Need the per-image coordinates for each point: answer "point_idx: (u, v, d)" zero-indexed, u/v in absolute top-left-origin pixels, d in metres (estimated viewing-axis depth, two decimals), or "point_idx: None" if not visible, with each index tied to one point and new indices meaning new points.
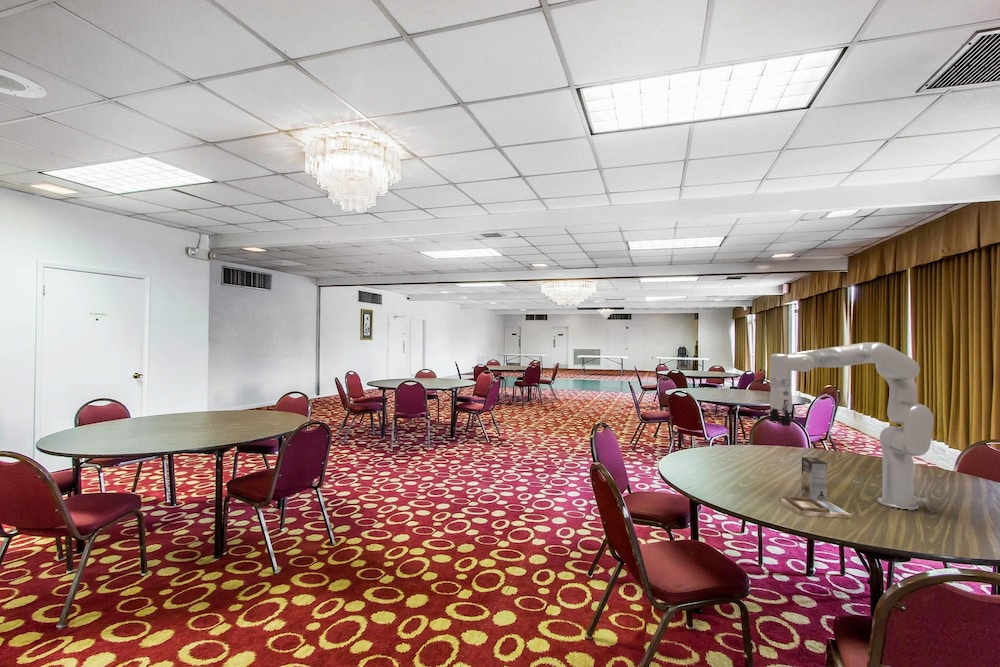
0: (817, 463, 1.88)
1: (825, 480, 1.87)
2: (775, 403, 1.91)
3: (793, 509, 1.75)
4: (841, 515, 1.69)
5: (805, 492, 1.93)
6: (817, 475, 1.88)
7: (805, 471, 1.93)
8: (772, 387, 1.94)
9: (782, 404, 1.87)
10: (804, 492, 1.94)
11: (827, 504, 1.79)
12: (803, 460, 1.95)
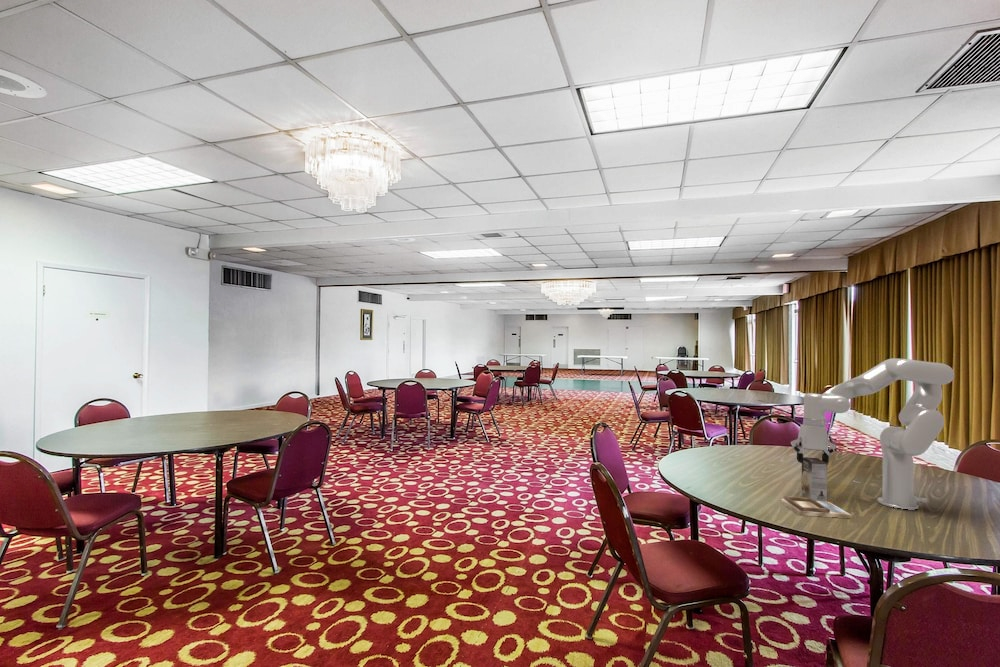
0: (817, 463, 1.88)
1: (825, 480, 1.87)
2: (819, 444, 1.90)
3: (793, 509, 1.75)
4: (841, 515, 1.69)
5: (805, 492, 1.93)
6: (817, 475, 1.88)
7: (805, 471, 1.93)
8: (813, 428, 1.90)
9: None
10: (804, 492, 1.94)
11: (827, 504, 1.79)
12: (803, 460, 1.95)
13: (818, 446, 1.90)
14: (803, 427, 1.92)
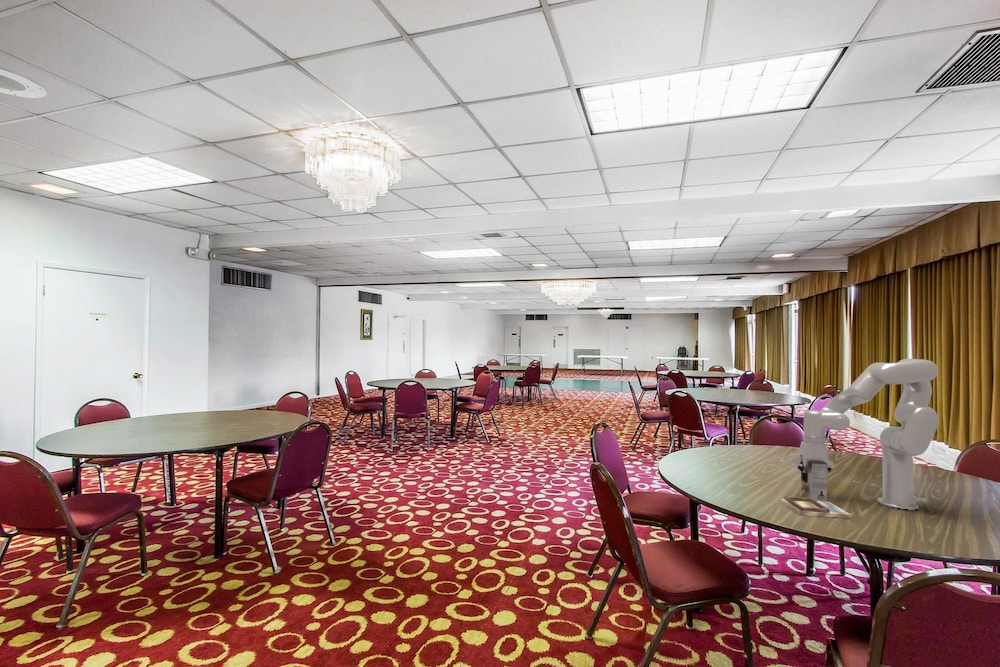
0: (817, 463, 1.88)
1: (825, 480, 1.87)
2: (820, 461, 1.90)
3: (793, 509, 1.75)
4: (841, 515, 1.69)
5: (805, 492, 1.93)
6: (817, 475, 1.88)
7: None
8: (813, 446, 1.90)
9: None
10: (804, 492, 1.94)
11: (827, 504, 1.79)
12: None
13: None
14: (803, 444, 1.92)
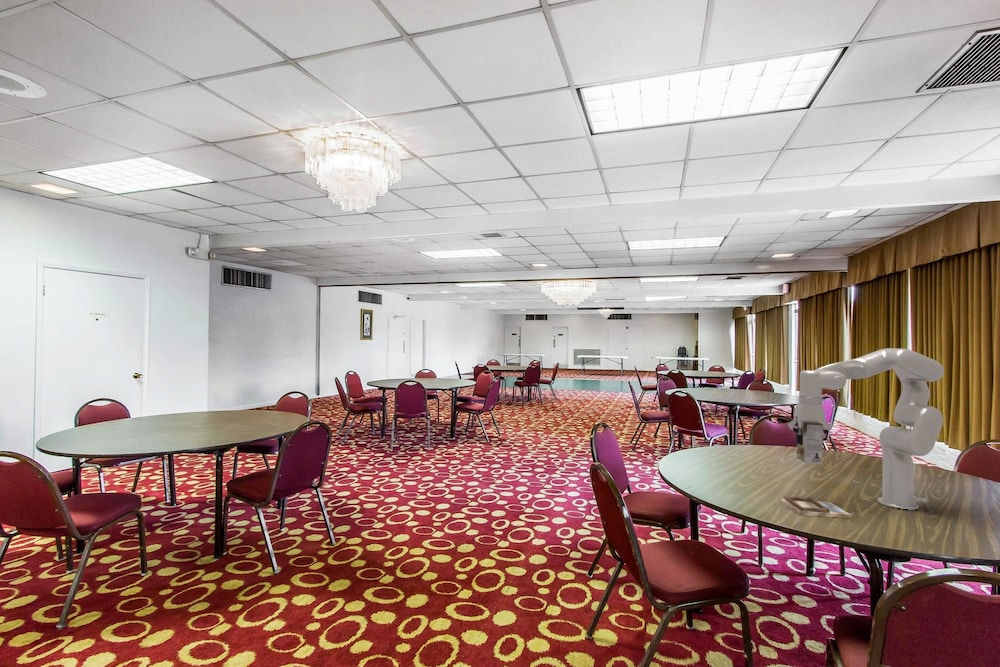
0: (812, 424, 1.81)
1: (821, 441, 1.80)
2: None
3: (793, 509, 1.75)
4: (841, 515, 1.69)
5: (800, 456, 1.86)
6: (812, 436, 1.80)
7: None
8: (809, 406, 1.83)
9: None
10: (799, 456, 1.86)
11: (827, 504, 1.79)
12: None
13: None
14: (799, 405, 1.85)
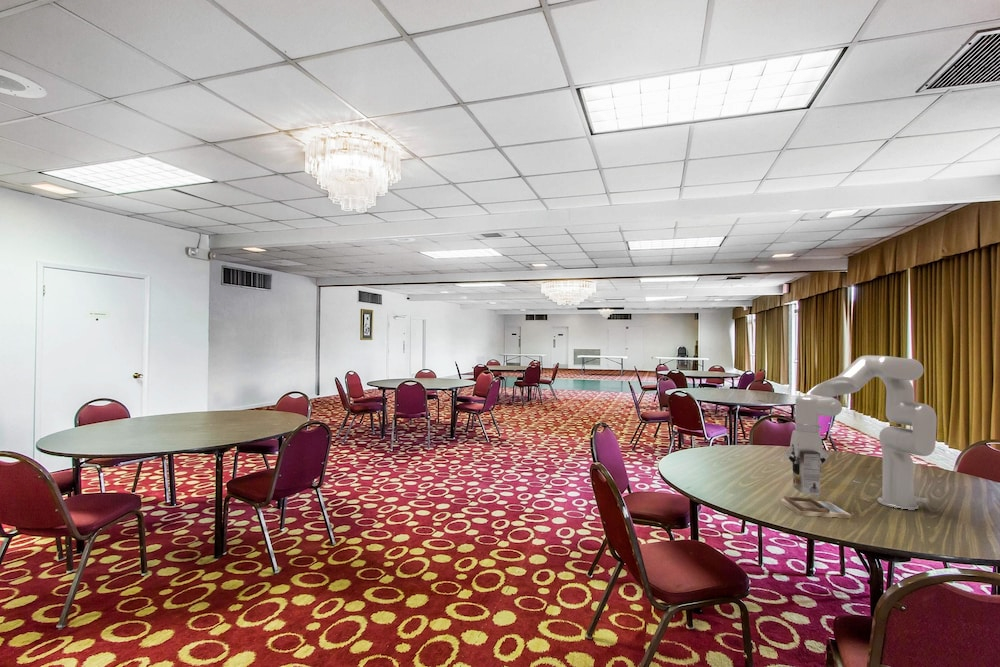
0: (810, 453, 1.74)
1: (819, 471, 1.73)
2: (812, 451, 1.76)
3: (793, 509, 1.75)
4: (841, 515, 1.69)
5: (796, 485, 1.79)
6: (809, 466, 1.74)
7: None
8: (806, 434, 1.76)
9: None
10: (796, 485, 1.80)
11: (827, 504, 1.79)
12: None
13: None
14: (795, 433, 1.78)
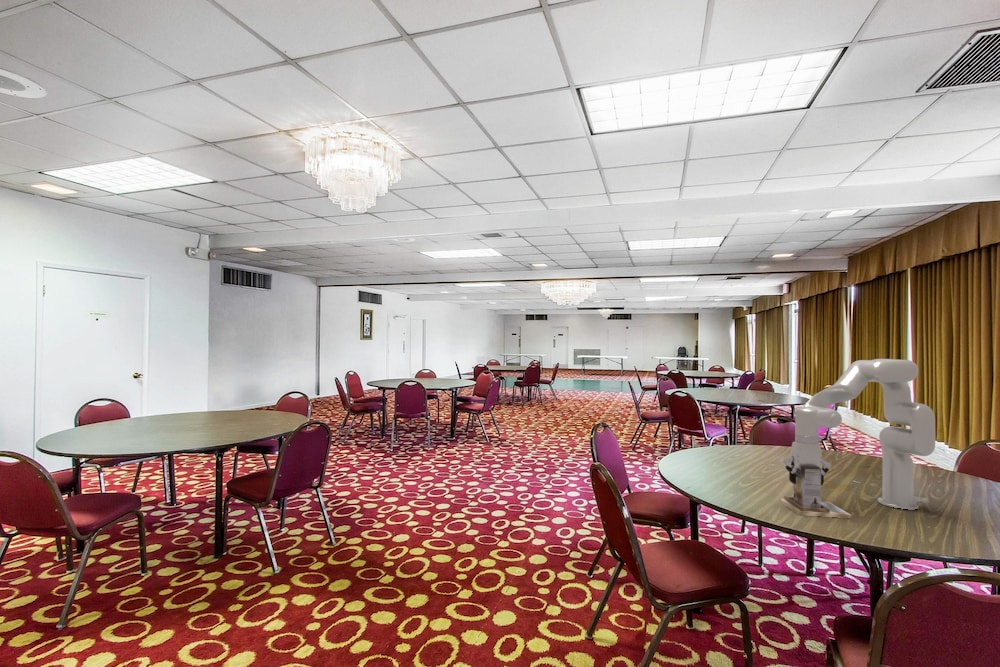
0: (810, 468, 1.74)
1: (819, 486, 1.73)
2: (812, 463, 1.75)
3: (793, 509, 1.75)
4: (841, 515, 1.69)
5: (797, 500, 1.79)
6: (810, 481, 1.73)
7: (798, 477, 1.78)
8: (806, 446, 1.76)
9: None
10: (796, 500, 1.80)
11: (827, 504, 1.79)
12: None
13: (812, 465, 1.75)
14: (795, 444, 1.78)
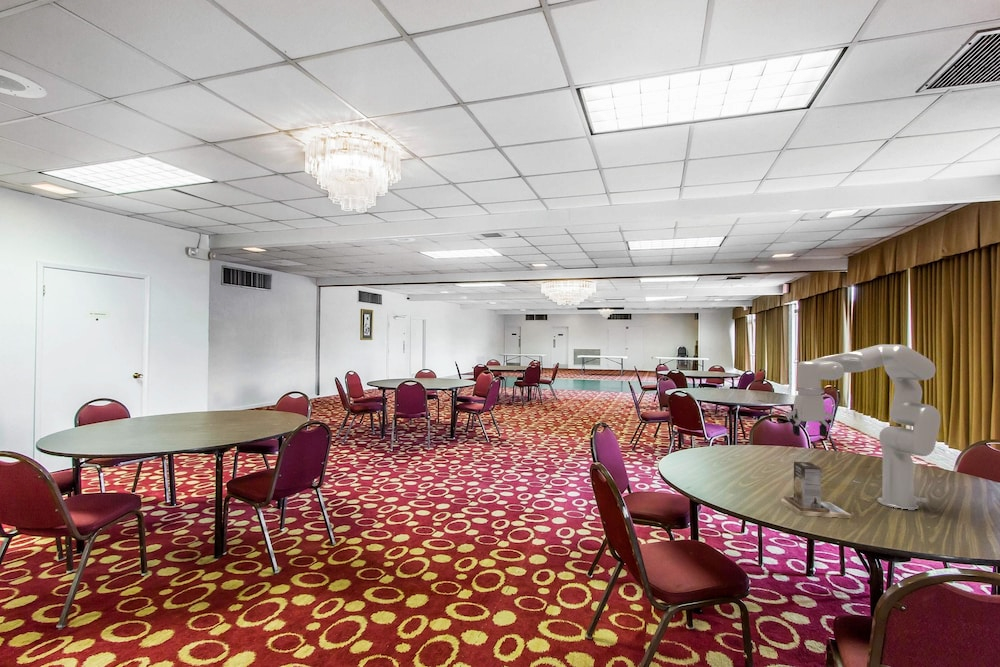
0: (810, 468, 1.74)
1: (819, 486, 1.73)
2: (815, 415, 1.78)
3: (793, 509, 1.75)
4: (841, 515, 1.69)
5: (797, 500, 1.79)
6: (810, 481, 1.73)
7: (798, 477, 1.78)
8: (809, 398, 1.78)
9: None
10: (796, 500, 1.80)
11: (827, 504, 1.79)
12: (795, 465, 1.81)
13: (815, 417, 1.78)
14: (798, 397, 1.80)
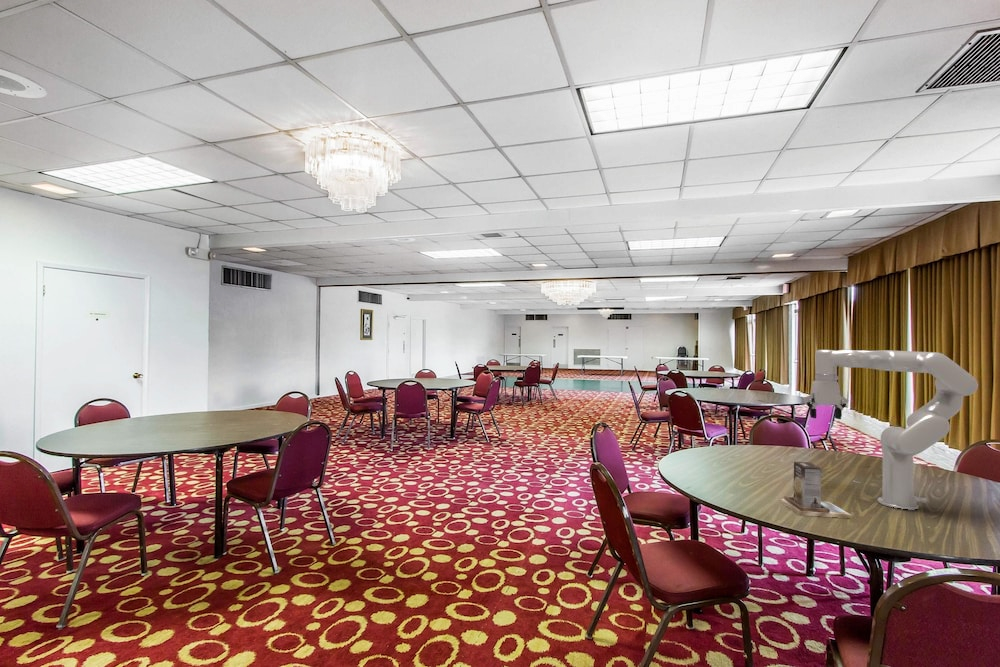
0: (810, 468, 1.74)
1: (819, 486, 1.73)
2: (831, 399, 1.92)
3: (793, 509, 1.75)
4: (841, 515, 1.69)
5: (797, 500, 1.79)
6: (810, 481, 1.73)
7: (798, 477, 1.78)
8: (825, 383, 1.93)
9: None
10: (796, 500, 1.80)
11: (827, 504, 1.79)
12: (795, 465, 1.81)
13: (831, 401, 1.93)
14: (815, 382, 1.95)
